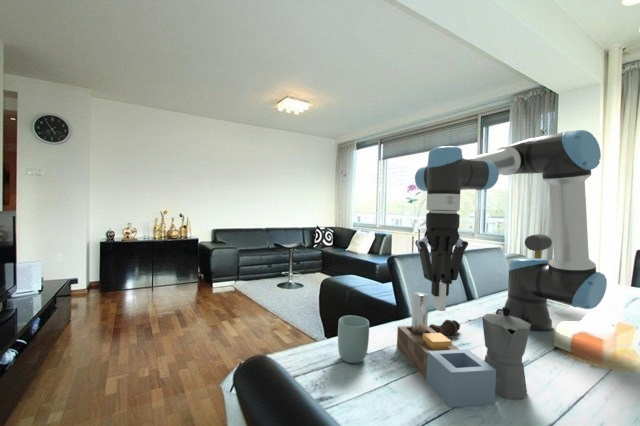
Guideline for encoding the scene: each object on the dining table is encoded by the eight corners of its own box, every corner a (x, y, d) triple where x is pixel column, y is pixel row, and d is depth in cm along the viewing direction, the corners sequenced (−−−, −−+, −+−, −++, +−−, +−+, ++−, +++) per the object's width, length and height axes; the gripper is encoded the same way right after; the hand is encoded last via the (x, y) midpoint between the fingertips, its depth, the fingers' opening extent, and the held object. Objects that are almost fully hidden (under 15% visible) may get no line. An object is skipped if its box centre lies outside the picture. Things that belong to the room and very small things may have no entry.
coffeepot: (535, 411, 61) (540, 320, 60) (482, 398, 64) (486, 312, 64) (517, 373, 75) (521, 299, 75) (474, 364, 79) (478, 294, 78)
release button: (439, 359, 78) (440, 332, 78) (450, 369, 73) (451, 341, 73) (421, 360, 77) (422, 333, 77) (431, 370, 72) (433, 341, 72)
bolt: (457, 337, 100) (435, 349, 90) (444, 325, 103) (422, 335, 93) (467, 324, 98) (446, 334, 88) (454, 312, 101) (432, 321, 91)
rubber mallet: (538, 303, 135) (542, 235, 134) (520, 299, 141) (523, 233, 140) (550, 299, 142) (553, 234, 141) (531, 295, 148) (535, 233, 147)
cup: (333, 363, 76) (334, 323, 76) (341, 350, 84) (343, 313, 83) (364, 370, 74) (365, 328, 73) (370, 356, 81) (372, 318, 81)
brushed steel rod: (421, 349, 86) (423, 292, 86) (428, 356, 82) (431, 296, 82) (407, 349, 85) (410, 292, 85) (414, 356, 81) (417, 296, 81)
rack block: (466, 379, 72) (467, 349, 71) (494, 403, 63) (496, 369, 62) (426, 381, 70) (427, 351, 70) (449, 407, 61) (451, 372, 61)
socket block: (426, 346, 88) (427, 325, 88) (461, 376, 72) (462, 351, 72) (396, 347, 87) (397, 326, 86) (425, 379, 71) (427, 353, 71)
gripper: (425, 212, 70) (422, 315, 70) (477, 213, 72) (473, 313, 73) (410, 211, 77) (407, 305, 78) (457, 212, 79) (454, 303, 80)
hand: (439, 308), depth 75 cm, fingers closed
